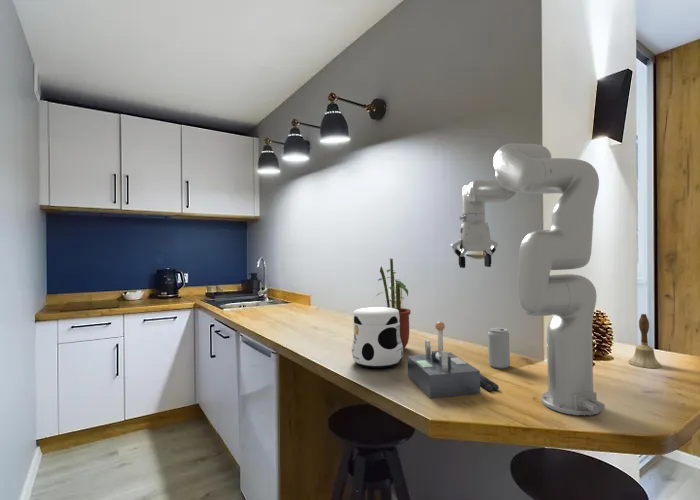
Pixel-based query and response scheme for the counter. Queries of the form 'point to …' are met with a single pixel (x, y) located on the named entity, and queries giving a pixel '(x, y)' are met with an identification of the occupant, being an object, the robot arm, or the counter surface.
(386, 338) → the milk container
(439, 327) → the lever
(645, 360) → the hand bell
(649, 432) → the counter surface
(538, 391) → the counter surface
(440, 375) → the breaker panel
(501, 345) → the beverage can
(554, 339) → the robot arm
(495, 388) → the cord bundle
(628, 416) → the counter surface
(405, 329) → the potted plant
